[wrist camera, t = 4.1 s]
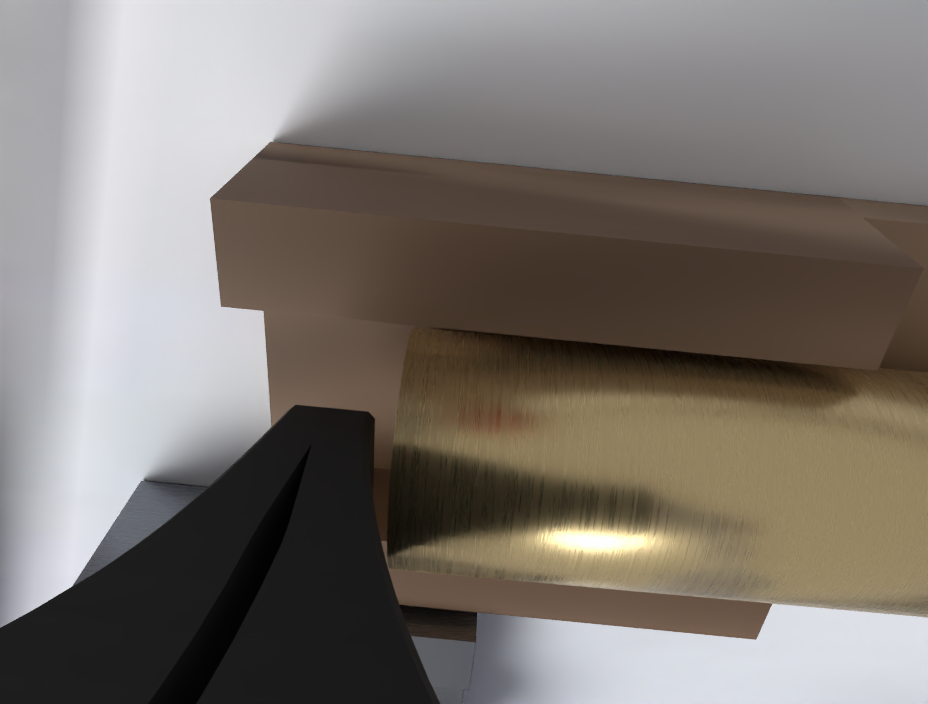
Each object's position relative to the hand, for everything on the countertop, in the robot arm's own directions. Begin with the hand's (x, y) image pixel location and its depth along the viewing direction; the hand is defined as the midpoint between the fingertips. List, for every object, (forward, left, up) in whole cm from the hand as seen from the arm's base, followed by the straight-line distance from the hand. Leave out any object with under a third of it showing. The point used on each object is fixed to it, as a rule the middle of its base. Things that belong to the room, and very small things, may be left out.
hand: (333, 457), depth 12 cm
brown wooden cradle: (0, -5, -3) cm, 6 cm away
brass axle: (0, -7, 0) cm, 7 cm away
